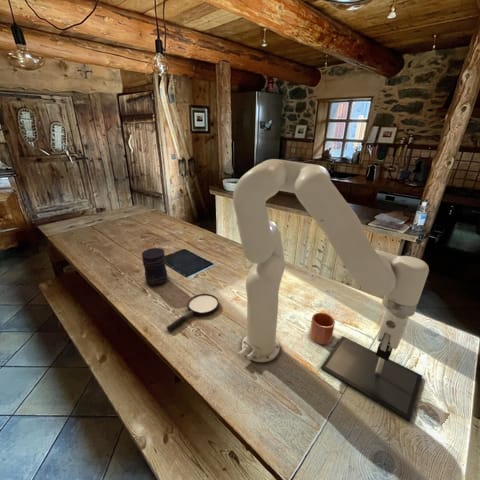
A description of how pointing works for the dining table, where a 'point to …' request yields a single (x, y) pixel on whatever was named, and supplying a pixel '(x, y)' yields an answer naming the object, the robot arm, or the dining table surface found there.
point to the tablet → (374, 377)
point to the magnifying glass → (197, 308)
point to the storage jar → (154, 267)
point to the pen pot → (322, 328)
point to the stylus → (379, 366)
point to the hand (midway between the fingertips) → (383, 355)
